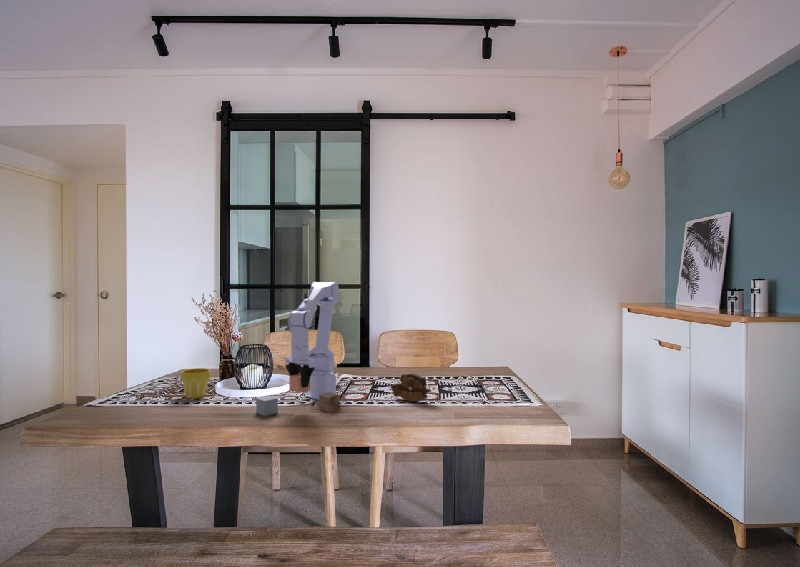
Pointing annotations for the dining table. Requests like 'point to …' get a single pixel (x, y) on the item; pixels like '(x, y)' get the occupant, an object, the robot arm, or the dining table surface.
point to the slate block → (266, 405)
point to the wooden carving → (411, 388)
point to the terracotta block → (297, 384)
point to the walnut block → (329, 401)
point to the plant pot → (195, 382)
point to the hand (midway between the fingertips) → (300, 385)
